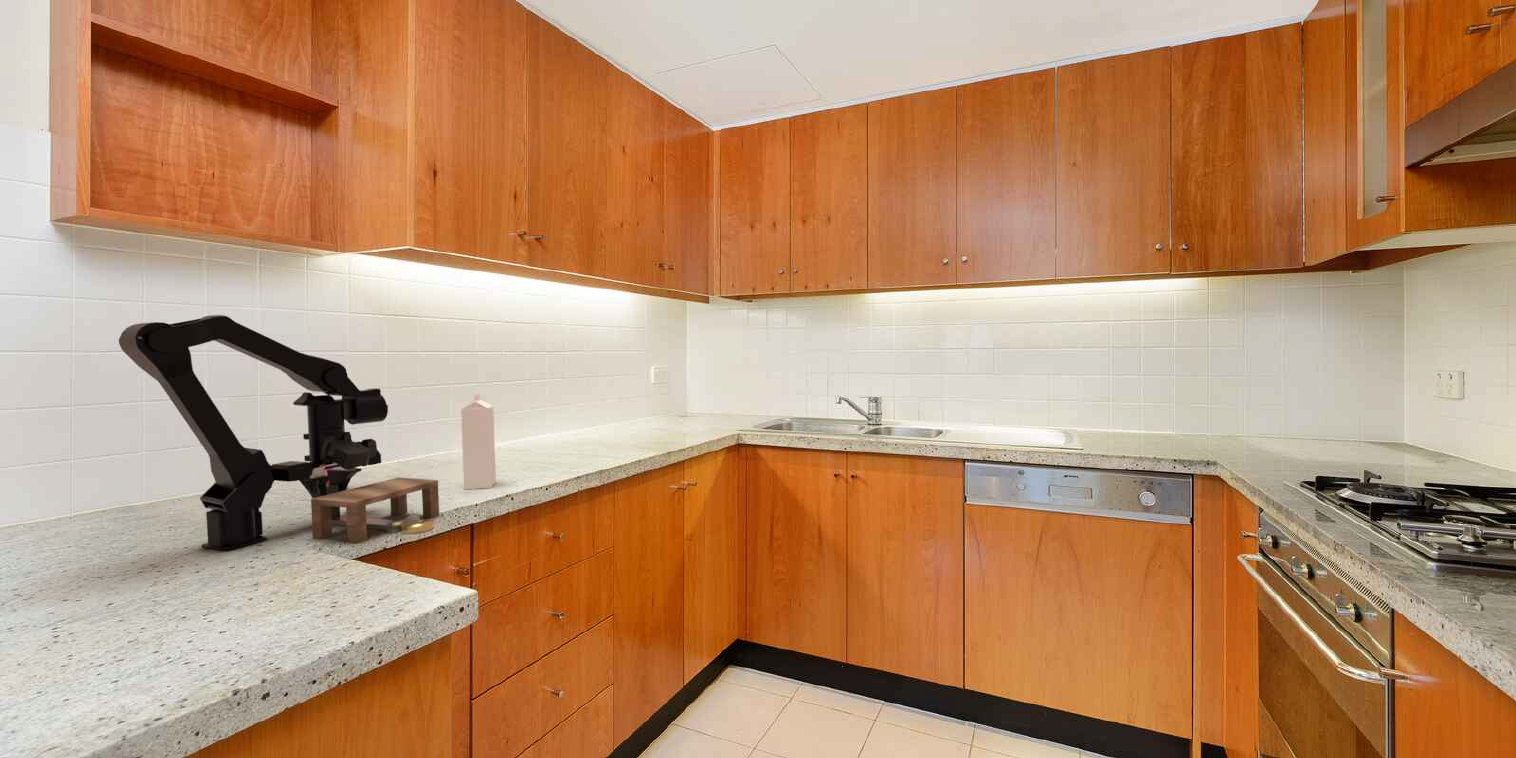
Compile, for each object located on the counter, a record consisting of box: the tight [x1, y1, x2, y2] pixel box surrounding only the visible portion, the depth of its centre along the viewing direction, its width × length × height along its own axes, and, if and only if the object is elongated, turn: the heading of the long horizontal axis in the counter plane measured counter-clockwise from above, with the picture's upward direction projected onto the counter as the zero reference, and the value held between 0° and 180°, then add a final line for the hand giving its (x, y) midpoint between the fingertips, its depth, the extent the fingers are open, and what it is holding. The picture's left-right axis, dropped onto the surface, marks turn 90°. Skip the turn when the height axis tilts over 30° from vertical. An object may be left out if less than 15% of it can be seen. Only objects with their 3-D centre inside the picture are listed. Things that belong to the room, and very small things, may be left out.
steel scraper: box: [326, 483, 420, 534], centre depth 118 cm, size 6×20×7 cm, turn 73°
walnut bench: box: [310, 477, 440, 544], centre depth 117 cm, size 18×10×7 cm, turn 163°
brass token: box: [401, 518, 434, 535], centre depth 114 cm, size 5×5×2 cm
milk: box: [460, 393, 497, 490], centre depth 149 cm, size 6×6×22 cm
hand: (330, 508), depth 120 cm, fingers closed on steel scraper, 2 cm apart
